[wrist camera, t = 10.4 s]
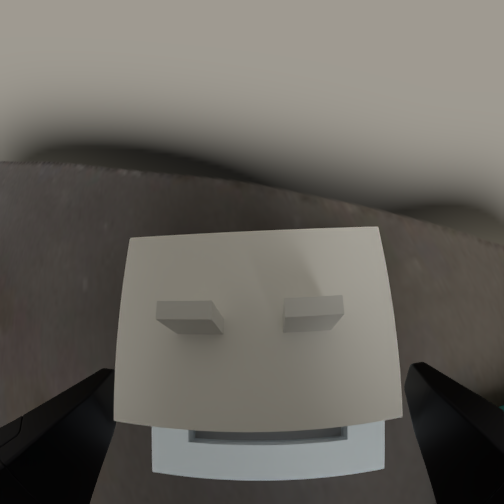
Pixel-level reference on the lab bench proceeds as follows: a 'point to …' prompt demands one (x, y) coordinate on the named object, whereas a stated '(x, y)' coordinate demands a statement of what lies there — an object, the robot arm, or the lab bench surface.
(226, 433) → the outlet plate
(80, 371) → the lab bench surface
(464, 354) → the lab bench surface
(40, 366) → the lab bench surface
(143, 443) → the lab bench surface
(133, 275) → the adapter
